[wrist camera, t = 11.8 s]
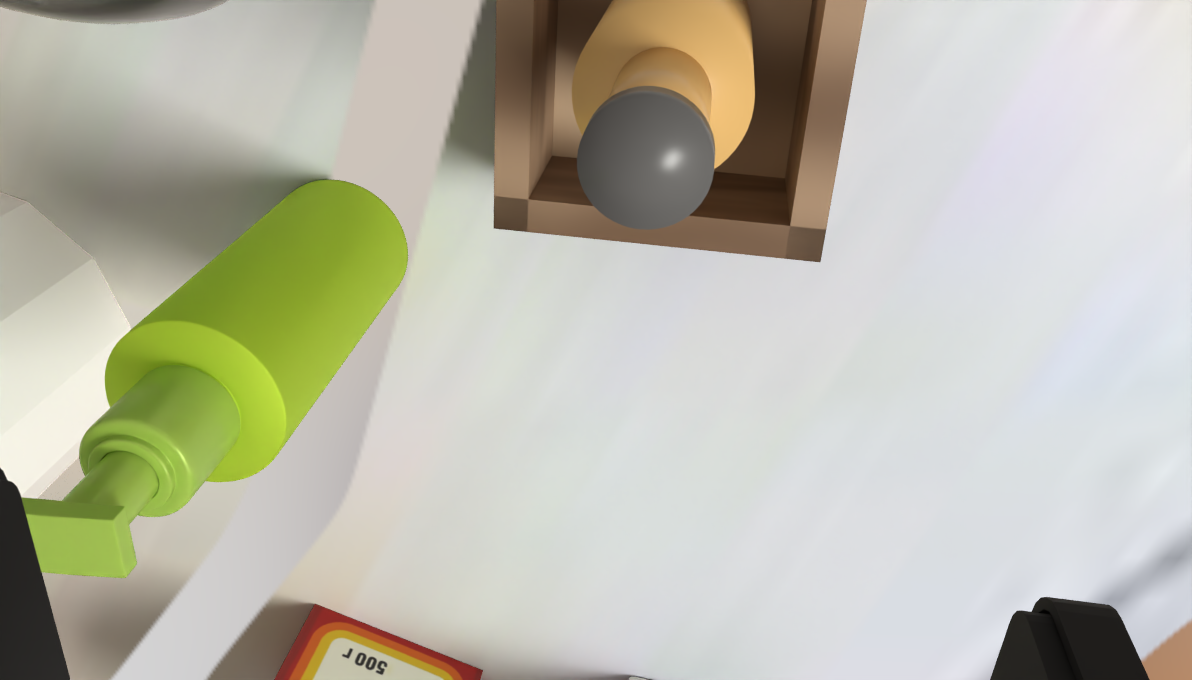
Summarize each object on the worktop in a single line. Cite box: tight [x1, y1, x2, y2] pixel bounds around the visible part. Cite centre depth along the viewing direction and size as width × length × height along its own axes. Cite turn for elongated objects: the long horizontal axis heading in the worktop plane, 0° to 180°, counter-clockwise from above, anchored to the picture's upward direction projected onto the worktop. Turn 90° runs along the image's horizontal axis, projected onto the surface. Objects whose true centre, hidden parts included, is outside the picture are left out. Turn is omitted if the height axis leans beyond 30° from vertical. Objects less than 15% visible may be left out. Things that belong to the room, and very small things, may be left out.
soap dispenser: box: [21, 180, 408, 578], centre depth 34 cm, size 6×7×20 cm
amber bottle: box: [572, 0, 755, 230], centre depth 30 cm, size 5×5×15 cm
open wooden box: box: [494, 0, 867, 262], centre depth 35 cm, size 11×11×6 cm
